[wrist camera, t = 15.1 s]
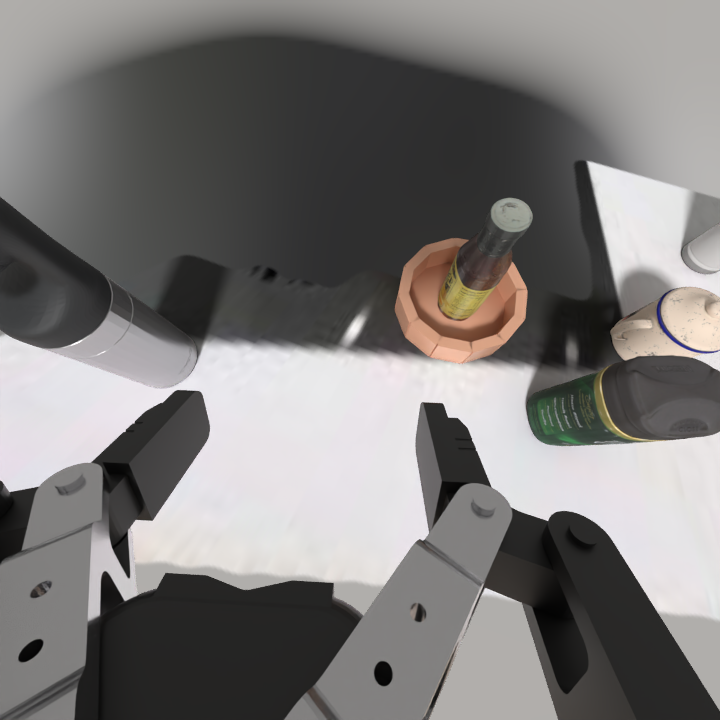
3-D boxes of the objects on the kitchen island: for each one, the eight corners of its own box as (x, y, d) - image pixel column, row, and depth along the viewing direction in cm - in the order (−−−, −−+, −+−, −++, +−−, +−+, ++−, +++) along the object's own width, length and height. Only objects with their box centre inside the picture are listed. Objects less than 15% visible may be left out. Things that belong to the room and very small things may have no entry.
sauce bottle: (447, 280, 51) (500, 173, 32) (482, 300, 49) (558, 201, 30) (426, 311, 49) (468, 217, 30) (462, 332, 48) (528, 249, 29)
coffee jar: (530, 448, 44) (645, 440, 26) (520, 392, 46) (618, 349, 28) (600, 446, 44) (763, 436, 26) (586, 390, 46) (726, 345, 28)
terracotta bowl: (386, 348, 48) (389, 335, 43) (407, 250, 54) (411, 229, 49) (505, 373, 47) (521, 363, 42) (515, 270, 52) (530, 251, 47)
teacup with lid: (661, 316, 50) (747, 274, 38) (678, 372, 47) (776, 344, 36) (584, 315, 50) (648, 273, 39) (596, 371, 47) (668, 343, 36)
